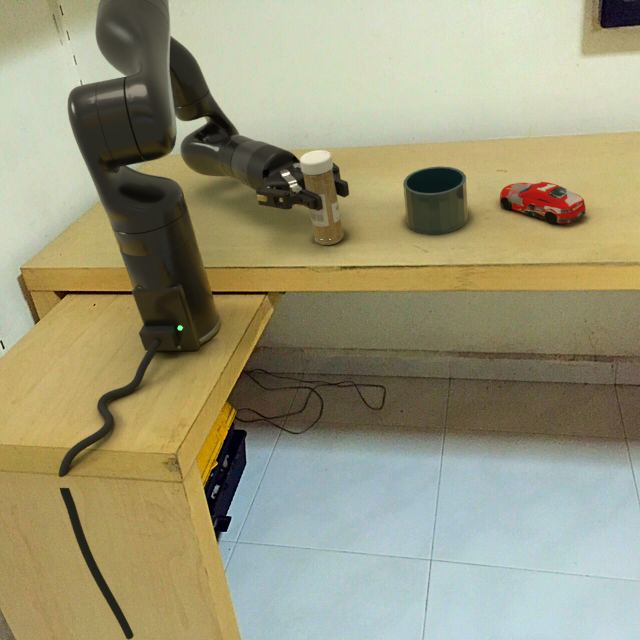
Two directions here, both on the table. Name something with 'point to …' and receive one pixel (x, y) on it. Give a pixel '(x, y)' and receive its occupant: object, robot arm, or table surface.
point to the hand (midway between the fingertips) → (333, 196)
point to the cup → (436, 200)
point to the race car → (543, 201)
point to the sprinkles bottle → (322, 196)
